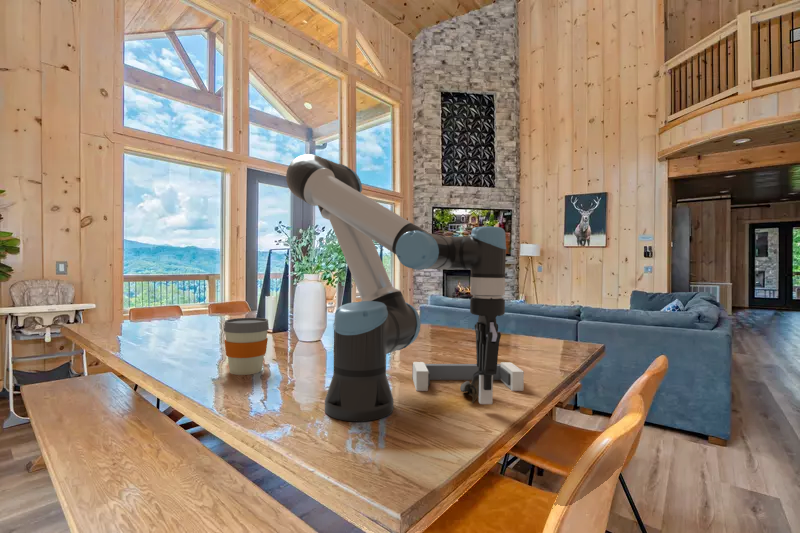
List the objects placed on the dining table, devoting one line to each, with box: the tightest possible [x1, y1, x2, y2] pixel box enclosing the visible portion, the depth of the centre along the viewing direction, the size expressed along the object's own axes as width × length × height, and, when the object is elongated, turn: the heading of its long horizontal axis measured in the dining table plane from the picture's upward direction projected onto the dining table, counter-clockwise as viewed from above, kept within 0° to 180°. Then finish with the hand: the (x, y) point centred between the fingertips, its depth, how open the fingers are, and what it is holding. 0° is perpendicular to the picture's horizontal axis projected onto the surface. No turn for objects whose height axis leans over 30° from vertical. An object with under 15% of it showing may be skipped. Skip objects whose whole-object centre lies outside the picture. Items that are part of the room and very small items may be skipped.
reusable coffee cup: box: [223, 317, 270, 376], centre depth 119 cm, size 13×13×15 cm
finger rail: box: [411, 361, 525, 392], centre depth 109 cm, size 28×12×5 cm, turn 93°
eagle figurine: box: [460, 370, 479, 404], centre depth 98 cm, size 8×7×9 cm
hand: (485, 402), depth 89 cm, fingers closed
